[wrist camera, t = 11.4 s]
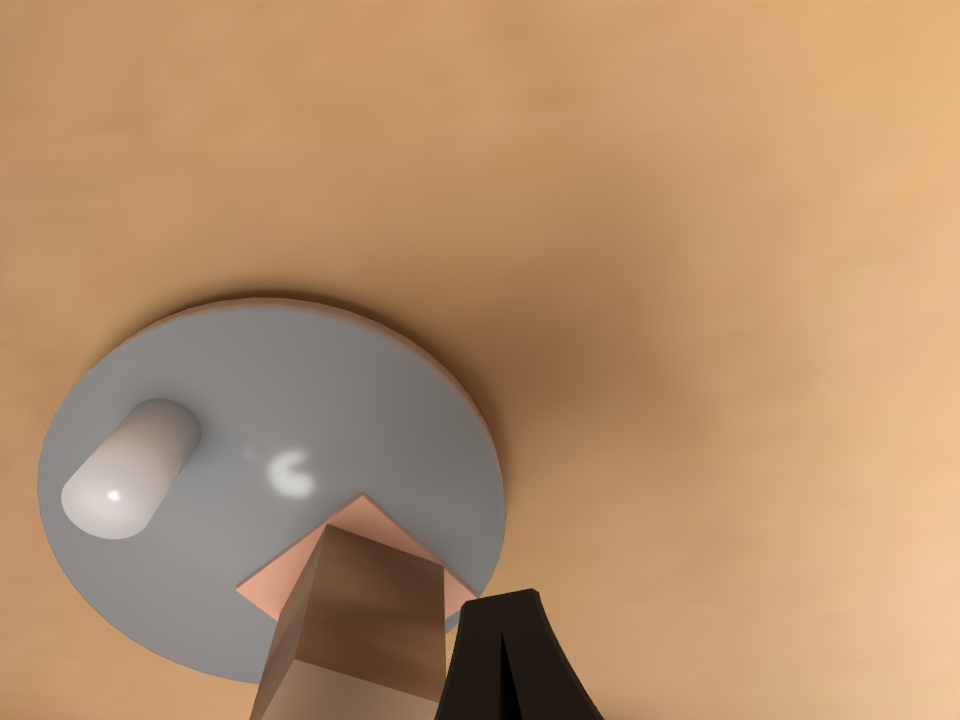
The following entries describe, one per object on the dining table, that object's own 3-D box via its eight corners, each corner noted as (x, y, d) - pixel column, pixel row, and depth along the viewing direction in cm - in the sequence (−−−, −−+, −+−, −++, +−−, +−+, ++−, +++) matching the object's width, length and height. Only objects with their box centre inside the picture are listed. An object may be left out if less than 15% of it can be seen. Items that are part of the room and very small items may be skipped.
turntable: (584, 516, 22) (620, 623, 18) (291, 712, 25) (261, 844, 21) (284, 194, 17) (233, 234, 13) (-38, 486, 20) (-168, 598, 16)
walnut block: (443, 565, 21) (446, 705, 16) (392, 649, 22) (380, 799, 17) (327, 523, 20) (294, 659, 15) (280, 613, 21) (236, 763, 16)
